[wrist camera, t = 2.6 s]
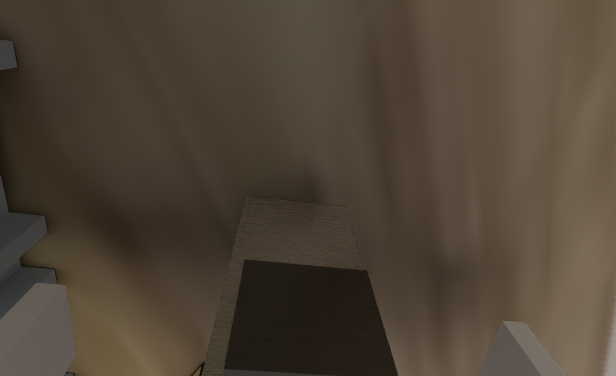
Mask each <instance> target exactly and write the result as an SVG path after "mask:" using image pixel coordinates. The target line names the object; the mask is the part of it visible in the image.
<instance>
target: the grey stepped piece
mask: <svg viewBox="0 0 616 376" xmlns="http://www.w3.org/2000/svg"><path fill="white" fill-rule="evenodd" d="M16 67H17V63H16V57H15V52H14V46H13V41H8V40H1V39H0V70H5V69H11V68H16ZM47 233H48V232H47V227H46V221H45V216H43V215H33V214H23V213H13V212H9V210H8V206H7V202H6V197H5V193H4V189H3V184H2V180H1V175H0V320H1V318H2V317H3V316H4V315H5V314H6V313H7V312H8V311H9V310H10V309H11V308H12V307H13V306H14V305H15V304H16V303H17V302H18V301H19V300H20V299H21V298H22V297H23V296H24V295H25V294H26V293H27V292H28V291H29V290H30V289H31V288H32V287H33V286H34V285H35V284H36V283H46V284H57V281H56V276H55V270H54V269H46V268H35V267H23V266H21V263H20V259H19V258H20V257H21V256H22V255H24V254H25V253H26V252H27V251H28V250H29V249H30V248H31V247H32V246H34V245H35V244H36V243H37V242H38V241H39V240H40V239H41V238H43V237H44V236H45V235H46V234H47ZM64 376H74V374H73V373H65V374H64Z"/></svg>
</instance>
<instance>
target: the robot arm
mask: <svg viewBox="0 0 616 376" xmlns="http://www.w3.org/2000/svg"><path fill="white" fill-rule="evenodd" d="M75 357H76V349H75V343H74V337H73V330H72V324H71V318H70V312H69V305H68V299H67V293H66V286H65V285H58V284H46V283H36V284H35V285H34V286H33V287H32V288H31V289H30V290H29V291H28V292H27V293H26V294H25V295H24V296H23V297H22V298H21V299H20V300H19V301H18V302H17V303H16V304H15V305H14V306H13V307H12V308H11V309H10V310H9V311H8V312H7V313H6V314H5V315H4V316H3V317H2V318H1V320H0V376H64V374H65V373H66V371H67V369H68V368H69V366H70V365H71V363H72V362H73V360H74V359H75ZM477 376H566V374H565V373H564V372H563V371H562V369H561V368H560V367H559V365H558V364H557V363H556V362H555V360H554V359H553V358H552V356H551V355H550V354H549V353H548V351H547V350H546V349H545V347H544V346H543V345H542V344H541V342H540V341H539V340H538V338H537V337H536V336H535V335H534V333H533V332H532V331H531V330H530V328H529V327H528V326H527V324H526V323H524V322H511V321H502V323H501V325H500V327H499V329H498V332H497V334H496V336H495V338H494V340H493V342H492V344H491V346H490V348H489V351H488V353H487V355H486V357H485V359H484V361H483V363H482V365H481V368H480V370H479V372H478V374H477Z"/></svg>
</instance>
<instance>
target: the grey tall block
mask: <svg viewBox="0 0 616 376" xmlns="http://www.w3.org/2000/svg"><path fill="white" fill-rule="evenodd" d="M202 376H398V373H397V370H396V367H395V363H394V360H393V357H392V353H391V350H390V347H389V343H388V340H387V337H386V333H385V330H384V327H383V323H382V320H381V317H380V313H379V310H378V307H377V303H376V300H375V297H374V293H373V290H372V287H371V283H370V280H369V277H368V273H367V270H364V267H363V264H362V260H361V257H360V254H359V250H358V247H357V243H356V240H355V236H354V233H353V229H352V226H351V223H350V219H349V216H348V212H347V209H346V206H337V205H328V204H319V203H310V202H300V201H291V200H282V199H272V198H263V197H254V196H246V198H245V202H244V206H243V210H242V214H241V218H240V222H239V226H238V230H237V234H236V238H235V242H234V246H233V250H232V254H231V258H230V262H229V266H228V270H227V274H226V279H225V283H224V287H223V291H222V295H221V299H220V303H219V307H218V311H217V315H216V319H215V323H214V327H213V331H212V335H211V339H210V343H209V347H208V351H207V355H206V359H205V363H204V368H203V372H202Z"/></svg>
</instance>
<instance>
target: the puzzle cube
mask: <svg viewBox="0 0 616 376" xmlns="http://www.w3.org/2000/svg"><path fill="white" fill-rule="evenodd" d="M203 368H204V365H202V366H201V367H200V368H199V369H198V370H197V371H196V372H195V374H194V375H193V376H202V372H203Z"/></svg>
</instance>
